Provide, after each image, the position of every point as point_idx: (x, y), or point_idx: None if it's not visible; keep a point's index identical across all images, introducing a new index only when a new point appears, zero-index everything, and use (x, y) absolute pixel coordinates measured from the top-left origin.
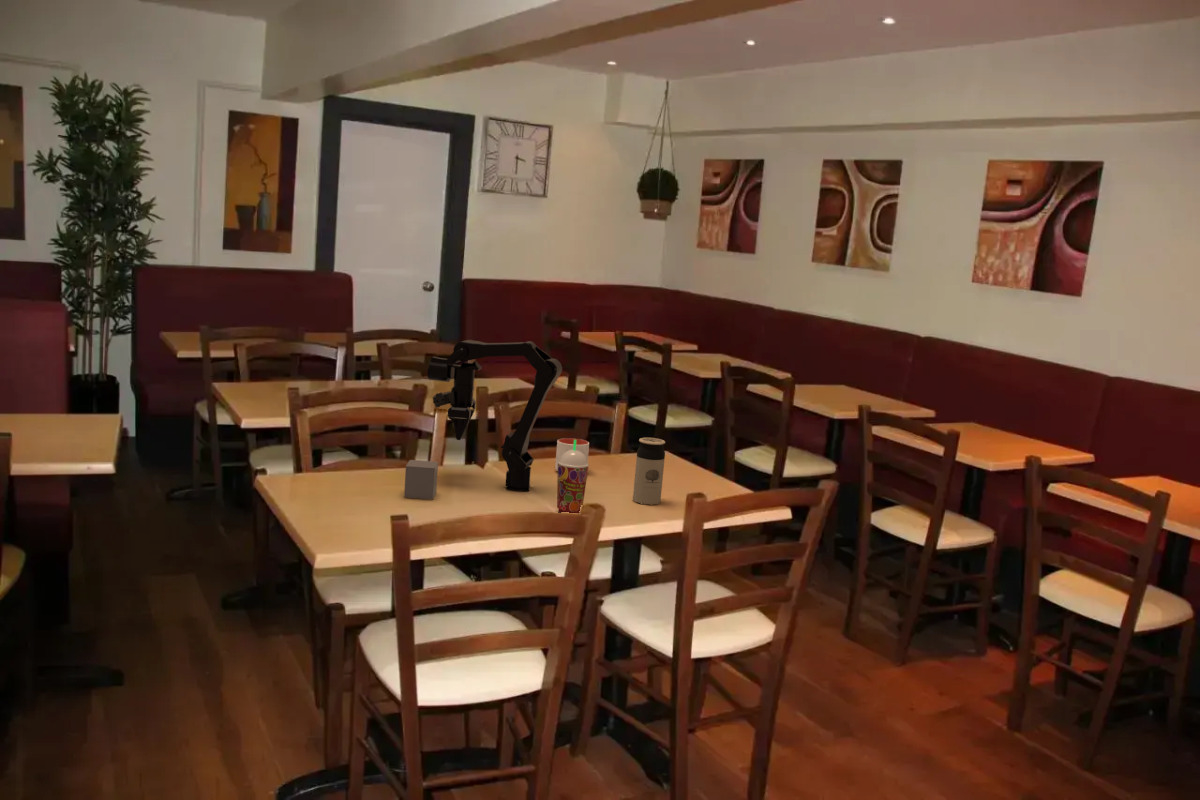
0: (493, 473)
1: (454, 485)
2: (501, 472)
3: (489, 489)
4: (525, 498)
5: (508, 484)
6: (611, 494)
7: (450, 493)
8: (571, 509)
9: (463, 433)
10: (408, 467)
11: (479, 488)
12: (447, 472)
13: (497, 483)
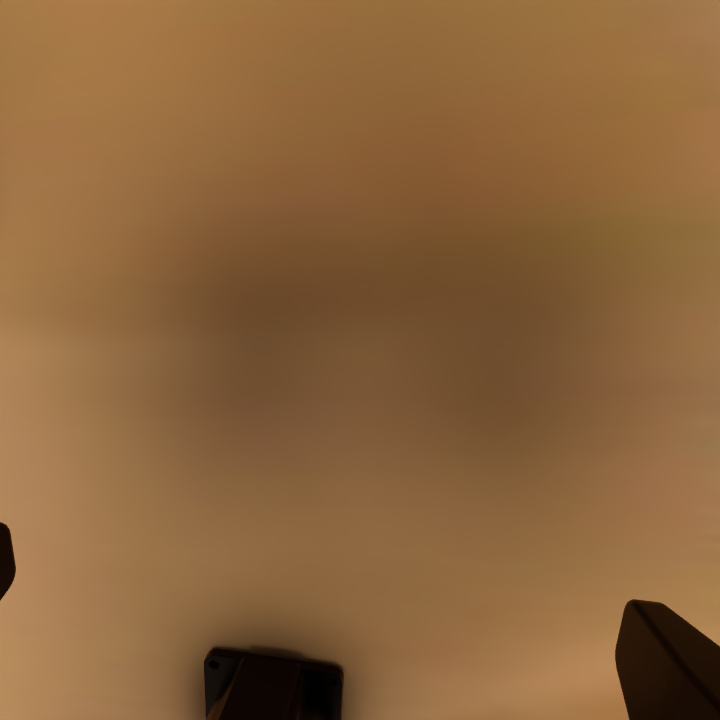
0: None
1: (224, 338)
2: None
3: (197, 555)
4: (78, 716)
5: (231, 680)
6: None
7: (10, 322)
8: None
9: (618, 658)
10: None
11: (201, 499)
12: (638, 259)
13: (364, 608)
